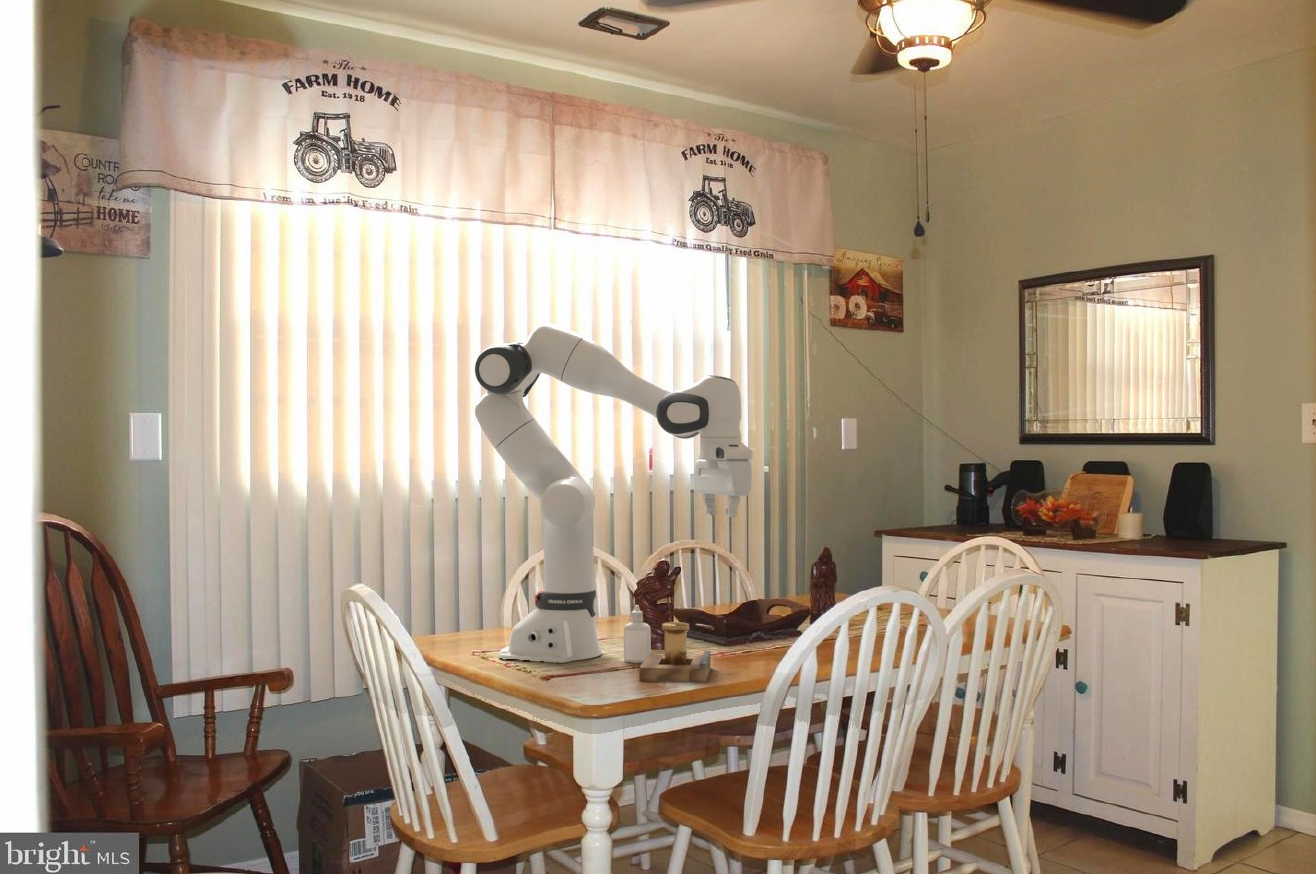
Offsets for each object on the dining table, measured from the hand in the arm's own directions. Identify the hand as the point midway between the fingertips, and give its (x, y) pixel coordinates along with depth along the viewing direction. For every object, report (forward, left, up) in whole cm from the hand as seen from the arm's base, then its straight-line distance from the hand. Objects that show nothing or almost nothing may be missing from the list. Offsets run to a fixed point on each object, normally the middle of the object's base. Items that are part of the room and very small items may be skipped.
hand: (720, 516), depth 221 cm
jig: (-8, -14, -31) cm, 35 cm away
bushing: (-9, -14, -31) cm, 35 cm away
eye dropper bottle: (-18, -2, -31) cm, 36 cm away
